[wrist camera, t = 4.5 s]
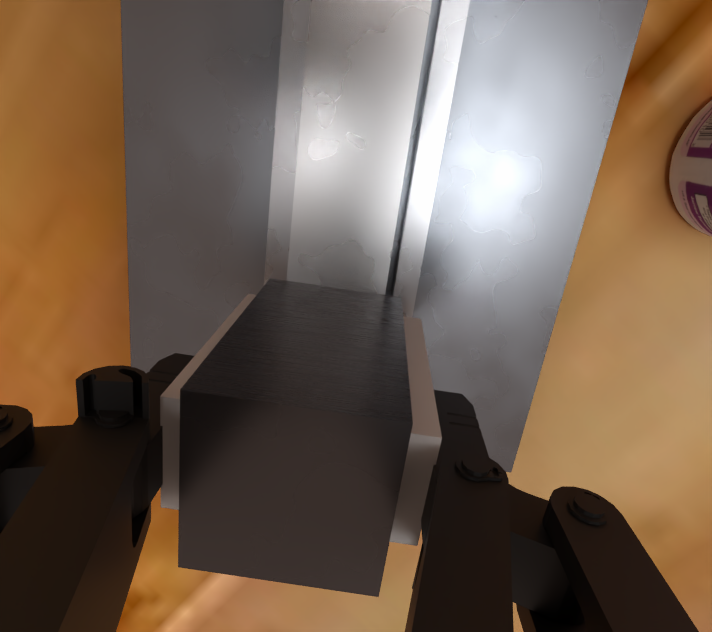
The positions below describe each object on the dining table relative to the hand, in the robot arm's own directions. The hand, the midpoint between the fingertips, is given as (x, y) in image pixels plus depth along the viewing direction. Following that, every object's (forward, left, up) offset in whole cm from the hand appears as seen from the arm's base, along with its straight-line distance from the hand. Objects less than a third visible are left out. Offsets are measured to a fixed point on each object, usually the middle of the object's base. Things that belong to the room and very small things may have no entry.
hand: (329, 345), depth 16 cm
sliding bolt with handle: (-6, 0, -3) cm, 7 cm away
